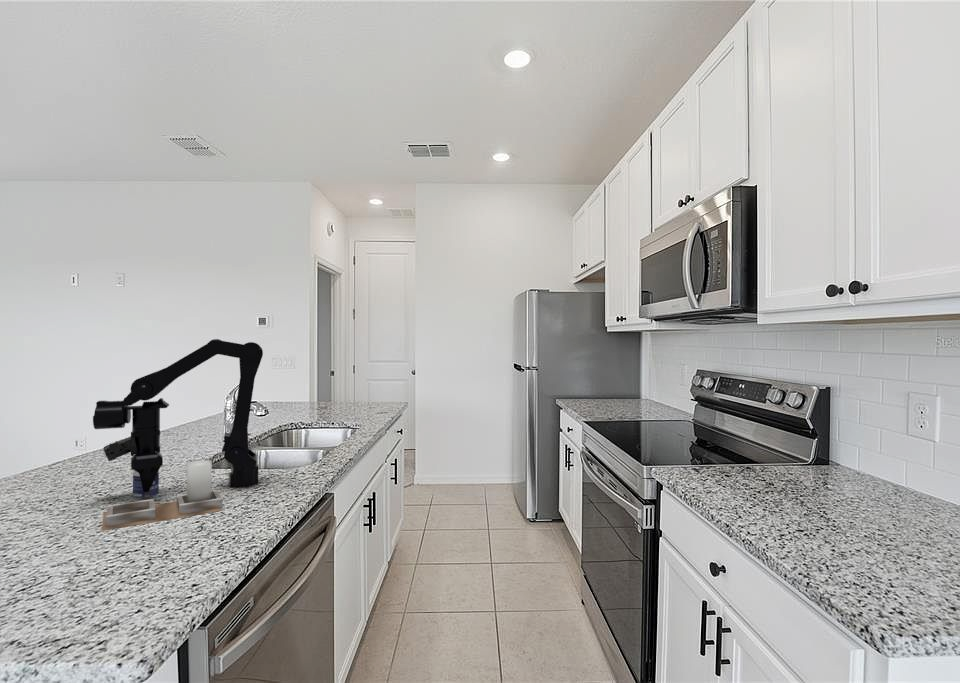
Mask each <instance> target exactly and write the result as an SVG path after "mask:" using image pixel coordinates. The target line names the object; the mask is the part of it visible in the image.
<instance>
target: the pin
mask: <svg viewBox="0 0 960 683" xmlns="http://www.w3.org/2000/svg"><path fill="white" fill-rule="evenodd" d="M212 464H213V463H212V460H209V459H208V460H207V459H205V460H196V461H191V462H188V463H187V464H186V494H187V503H191V502H198V501H204V500H211V490H212V477H213V476H212V473H213V472H212V469H213V468H212V466H213V465H212Z"/></svg>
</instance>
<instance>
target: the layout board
mask: <svg viewBox="0 0 960 683" xmlns="http://www.w3.org/2000/svg"><path fill="white" fill-rule="evenodd" d="M218 512H223V497H222V496H221V494H220V493H219V491H218V489H213V490H212V489H211V500H204V501H198V502H191V503H187V493H185V494H177V495H176V501H170V502H162V503H157V504H155V499H154V498H151V499H145V500H144V499H143V500H135V501H129V502H122V503H116V504H108V505H107V509H106V511H104V512H103V515H102V516H103V517H102V522H101V528H100V531H101V532H105V531H111V530H112V531H113V530H117V529H122V528H129V527H134V526H141V525H147V524H151V523H156V522H157V523H159V522H164V521H169V520H177V519H181V518H188V517H193V516H200V515H206V514H212V513H218Z"/></svg>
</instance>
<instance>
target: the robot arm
mask: <svg viewBox="0 0 960 683" xmlns="http://www.w3.org/2000/svg"><path fill="white" fill-rule="evenodd" d="M217 355H221V356H226V357H231V358H237V359H239V361H238V362H239V375H240V377H239V382H238V383H239V384H238V389H237V398H236V404H235V411H234V417H233V425H232V427H231V431H230V432H226V431H225V432H224V435H223V446H222V448H221V453H223V454H224V456H223V457H224V459H225V461H226V462H227V463H228V464H231V465H232V466H231V468H230V472H229V473H228V486H229V488H231V489H232V488H233V489H234V488H249V487H253V486H255V485H258V484H259V465H258V464H257V463H258V457H257V456H258V455H257V454H256V453H255V452H254V451H253V450H251V449H250V448H249V431H248V429H249V428H248V427H249V420H250V413H251V406H252V400H253V398H252V397H253V392H254V385H255V379H256V375H257V373H258V371H259V367H260V364H261V361H262V359H263V355H264V352H263V348H262V346H261V345H260V344H258V343H256V342H253V341H252V342H251V341H249V342H246V343H238V342H237V343H236V342H231V341H225V340H222V339H218V338H214V339H211V340H210V341H208V342H207V343H206V344H204V345H202V346H200V347H199V348H197V349H196V350H194V351H192V352H191V353H188V354H187V355H185V356H184V357H182V358H181V359H179V360H177V361H176V362H174V363H171V364H170V365H169V366H167V367H165V368H162V369H159V370H157V371H154V372H152V373H149V374H147V375H144V376H141V377H139V378H136V379H135V380H134V381H132V383H131V385H130V392H129V393H128V394H127V395H126V397H124V398H123V400H98V401H96V402H95V404H96V406H95V409H94V415H93V416H92V425H93V428H94V429H95V430H107V429H124V428H126V424H130V422H131V421H132V428H131V429H132V431H130V436H128V437H125V438H123V439H119V440H116V441H115V442H112V443H111V442H110V443H109V444H107V445H104V446H103V448H102V450H103V453H104V454H105V456H106V459H107V461H108V462H111V461H114V460H116V459H117V458H119V457H122V456H124V455H127V454H129V453H130V456H131V458H130V469H131V470H133V471H137V472H138V473H139V475H140V479H141V483H142V488H143V492H149V490H150V488H151V486H152V484H153V481H154V479H155V477H156V475H157V473H158V471H159V472H160V469H161V467H162V466H163V462H164V461H163V454H162V453H161V446H160V444H161V441H160V440H161V438H160V437H161V426H160V425H161V424H160V423H161V409H166V408H168V407H169V406H170V403H169V402H167V401H165V400H164V399H163V398H162V397H160V398H158V400H157V401H156V400H155V401H152V400H151V399H153V398H155V397H156V396H158V395H159V394H161V392H162V391H164V390H165V389H166V388H167V387H169V385H171V384H172V383H173V382H174V381H175V380H177V379H178V378H179V377H181V376H183V375H184V374H186V373H188V372H190V371H191V370H193V369H195V368H197V367H198V366H200V365H201V364H203V363H205V362H206V361H208V360H211V358H213V357H214V356H217ZM149 400H151V401H149ZM140 401H143V402H142V405H134V404H136V403H138V402H140ZM131 411H132V412H131ZM131 418H132V420H131Z"/></svg>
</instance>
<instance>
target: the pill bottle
mask: <svg viewBox="0 0 960 683" xmlns="http://www.w3.org/2000/svg"><path fill="white" fill-rule="evenodd" d="M159 484H160V470H159V471H158V473H157V475H156V477H155V479H154V481H153V484H152V486H151V488H150V490H149V492H143V488H142V483H141V479H140V475H139V473H138V472H137V471H135V470H133V472H132V497H133V498H136V499H137V498H138V499H139V498H148V497H153V496H156V495H158V494H159V492H160V488H159V486H160V485H159Z"/></svg>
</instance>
